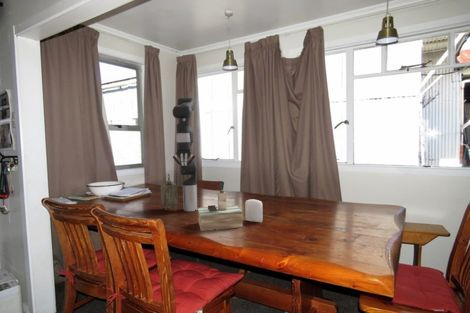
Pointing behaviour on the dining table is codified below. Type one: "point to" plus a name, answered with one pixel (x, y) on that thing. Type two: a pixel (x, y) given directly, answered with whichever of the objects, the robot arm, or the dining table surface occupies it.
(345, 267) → the dining table surface
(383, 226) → the dining table surface
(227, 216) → the rectangular block
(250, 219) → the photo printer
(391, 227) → the dining table surface
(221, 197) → the wooden knobbed block
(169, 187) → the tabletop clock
